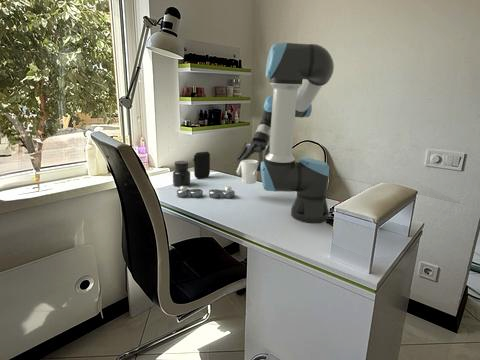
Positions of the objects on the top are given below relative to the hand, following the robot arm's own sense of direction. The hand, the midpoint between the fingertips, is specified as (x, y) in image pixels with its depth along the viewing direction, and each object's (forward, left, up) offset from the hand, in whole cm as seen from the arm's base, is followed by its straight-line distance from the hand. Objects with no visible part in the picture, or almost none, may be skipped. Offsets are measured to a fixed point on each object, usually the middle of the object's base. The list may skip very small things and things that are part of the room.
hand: (245, 174), depth 145 cm
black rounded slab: (+35, +23, -12) cm, 43 cm away
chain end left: (+3, +26, -12) cm, 28 cm away
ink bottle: (+21, +32, -12) cm, 40 cm away
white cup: (+3, -2, -4) cm, 6 cm away
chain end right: (+3, +11, -12) cm, 16 cm away
